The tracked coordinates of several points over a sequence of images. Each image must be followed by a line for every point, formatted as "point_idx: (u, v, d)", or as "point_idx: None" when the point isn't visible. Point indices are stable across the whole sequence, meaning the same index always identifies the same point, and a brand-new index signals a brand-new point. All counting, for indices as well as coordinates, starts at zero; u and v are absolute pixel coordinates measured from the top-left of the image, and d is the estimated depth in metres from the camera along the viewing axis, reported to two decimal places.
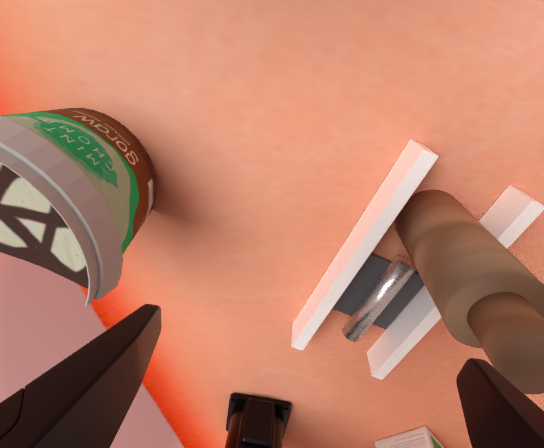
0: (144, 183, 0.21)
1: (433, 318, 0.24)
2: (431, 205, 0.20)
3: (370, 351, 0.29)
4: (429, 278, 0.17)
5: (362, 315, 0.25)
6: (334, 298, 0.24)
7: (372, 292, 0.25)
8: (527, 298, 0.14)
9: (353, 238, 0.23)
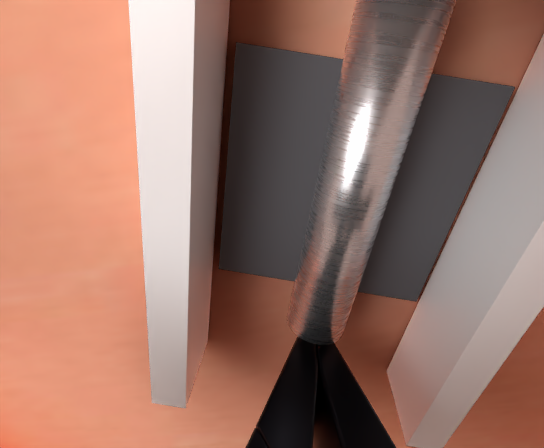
0: None
1: None
2: None
3: (393, 369, 0.11)
4: None
5: (316, 251, 0.07)
6: (176, 224, 0.07)
7: (324, 157, 0.07)
8: None
9: None
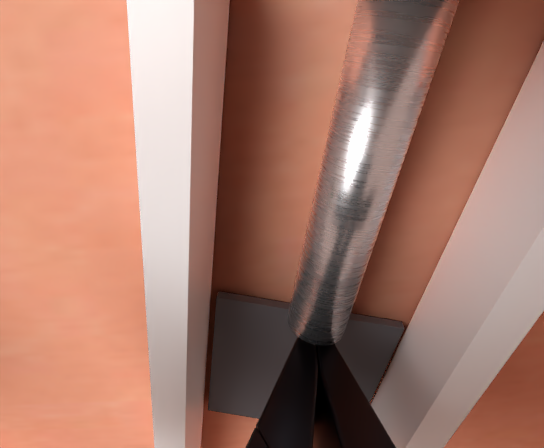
0: None
1: (433, 437, 0.09)
2: None
3: None
4: None
5: (317, 252, 0.07)
6: (176, 426, 0.10)
7: (325, 157, 0.07)
8: None
9: None
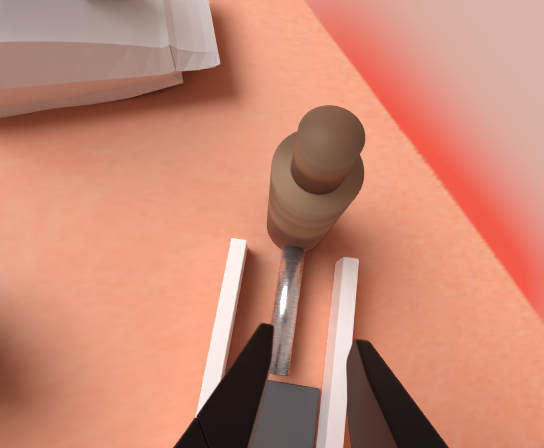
0: None
1: (336, 434, 0.18)
2: None
3: None
4: (271, 196, 0.17)
5: (274, 328, 0.20)
6: None
7: (275, 295, 0.21)
8: None
9: None
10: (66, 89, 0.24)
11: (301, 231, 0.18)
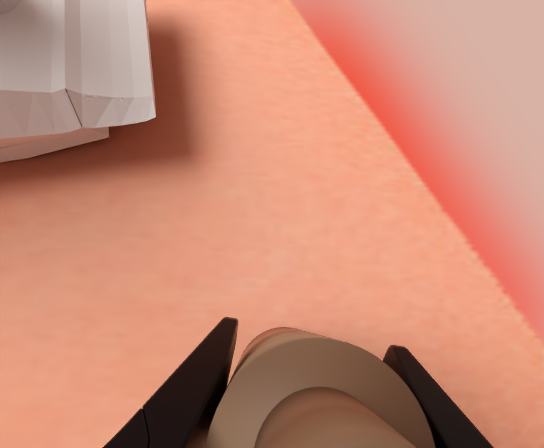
0: None
1: None
2: (255, 340, 0.14)
3: None
4: None
5: None
6: None
7: None
8: (352, 392, 0.06)
9: None
10: None
11: None
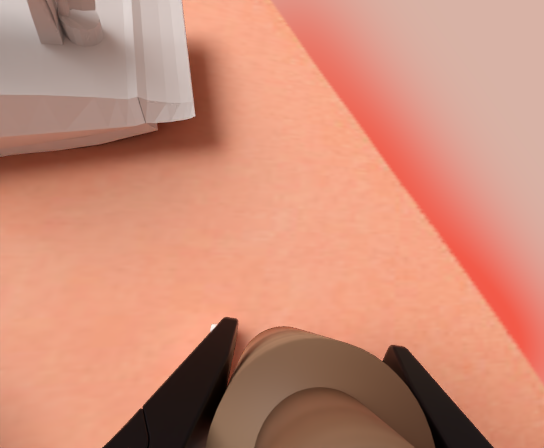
0: None
1: None
2: (255, 339, 0.14)
3: None
4: None
5: None
6: None
7: None
8: (353, 393, 0.06)
9: None
10: (24, 139, 0.22)
11: None
